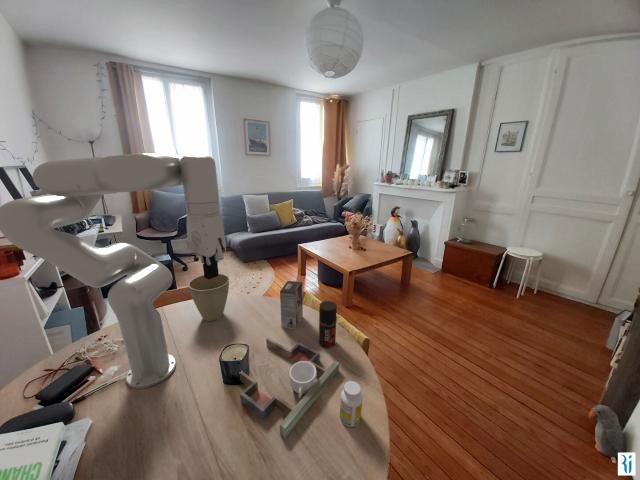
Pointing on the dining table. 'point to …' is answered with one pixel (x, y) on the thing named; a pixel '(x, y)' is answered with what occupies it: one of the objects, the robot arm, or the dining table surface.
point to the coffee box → (291, 304)
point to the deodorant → (327, 324)
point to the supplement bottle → (351, 404)
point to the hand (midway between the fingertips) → (211, 276)
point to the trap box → (265, 405)
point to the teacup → (302, 377)
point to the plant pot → (210, 295)
